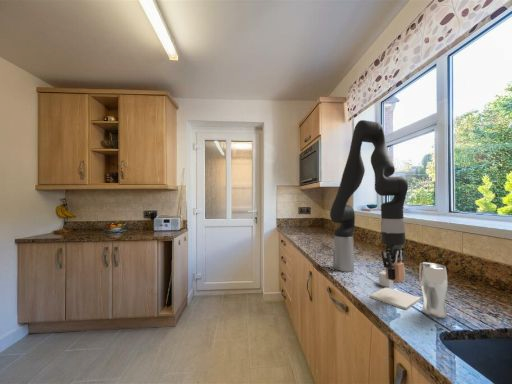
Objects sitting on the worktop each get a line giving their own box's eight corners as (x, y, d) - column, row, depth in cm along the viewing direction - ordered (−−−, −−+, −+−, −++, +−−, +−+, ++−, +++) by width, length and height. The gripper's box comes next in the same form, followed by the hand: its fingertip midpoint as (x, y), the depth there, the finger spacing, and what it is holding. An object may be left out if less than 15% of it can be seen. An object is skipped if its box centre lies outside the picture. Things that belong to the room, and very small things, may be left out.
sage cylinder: (392, 280, 100) (392, 266, 100) (396, 278, 102) (396, 264, 102) (402, 282, 97) (402, 268, 97) (406, 280, 99) (406, 266, 99)
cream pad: (370, 297, 83) (369, 295, 83) (385, 289, 90) (385, 287, 90) (406, 310, 73) (406, 307, 73) (420, 299, 80) (420, 297, 80)
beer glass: (415, 308, 74) (413, 262, 75) (435, 307, 75) (433, 262, 75) (433, 319, 67) (431, 269, 68) (455, 318, 68) (453, 268, 68)
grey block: (379, 284, 95) (378, 272, 95) (383, 282, 97) (383, 270, 97) (389, 287, 92) (388, 275, 92) (393, 285, 94) (393, 273, 94)
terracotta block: (385, 278, 82) (385, 262, 82) (391, 276, 85) (390, 260, 85) (399, 282, 79) (398, 265, 79) (404, 279, 81) (403, 262, 81)
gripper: (390, 228, 90) (392, 271, 89) (372, 231, 81) (374, 279, 81) (412, 229, 83) (414, 276, 83) (395, 233, 75) (397, 285, 75)
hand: (394, 277), depth 82 cm, fingers closed on terracotta block, 4 cm apart
